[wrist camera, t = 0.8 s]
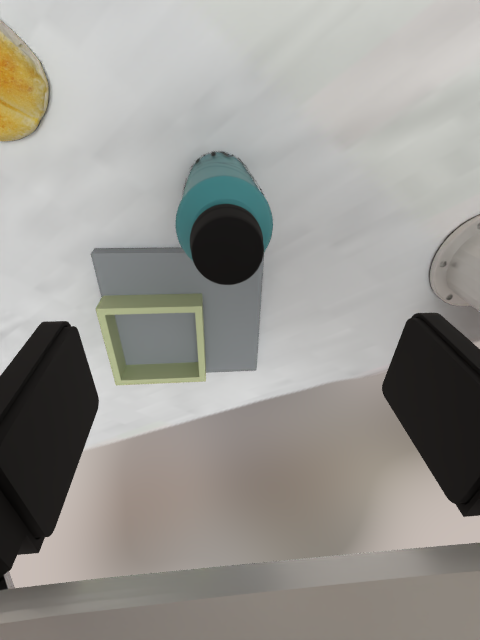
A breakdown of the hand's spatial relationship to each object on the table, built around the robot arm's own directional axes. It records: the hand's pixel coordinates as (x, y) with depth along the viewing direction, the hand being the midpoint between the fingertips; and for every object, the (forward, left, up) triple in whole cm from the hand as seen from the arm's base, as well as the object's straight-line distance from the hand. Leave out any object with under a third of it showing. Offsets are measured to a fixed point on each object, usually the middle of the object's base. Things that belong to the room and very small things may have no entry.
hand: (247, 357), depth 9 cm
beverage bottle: (0, 0, -29) cm, 29 cm away
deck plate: (+5, +16, -29) cm, 33 cm away
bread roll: (+19, -8, -29) cm, 35 cm away
